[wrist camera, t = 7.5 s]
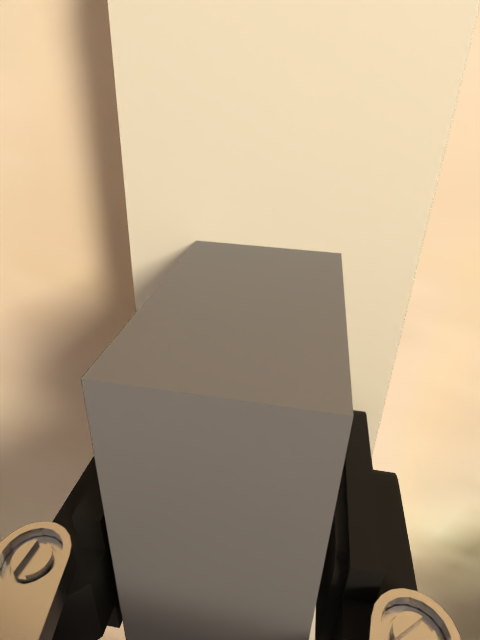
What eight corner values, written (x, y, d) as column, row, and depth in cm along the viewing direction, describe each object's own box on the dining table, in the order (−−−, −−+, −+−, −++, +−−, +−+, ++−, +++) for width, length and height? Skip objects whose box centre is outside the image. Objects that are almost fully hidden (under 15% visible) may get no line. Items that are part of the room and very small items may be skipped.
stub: (475, -82, 7) (968, -628, 2) (323, 615, 17) (320, 875, 12) (136, -77, 8) (-296, -435, 3) (177, 586, 18) (108, 815, 13)
